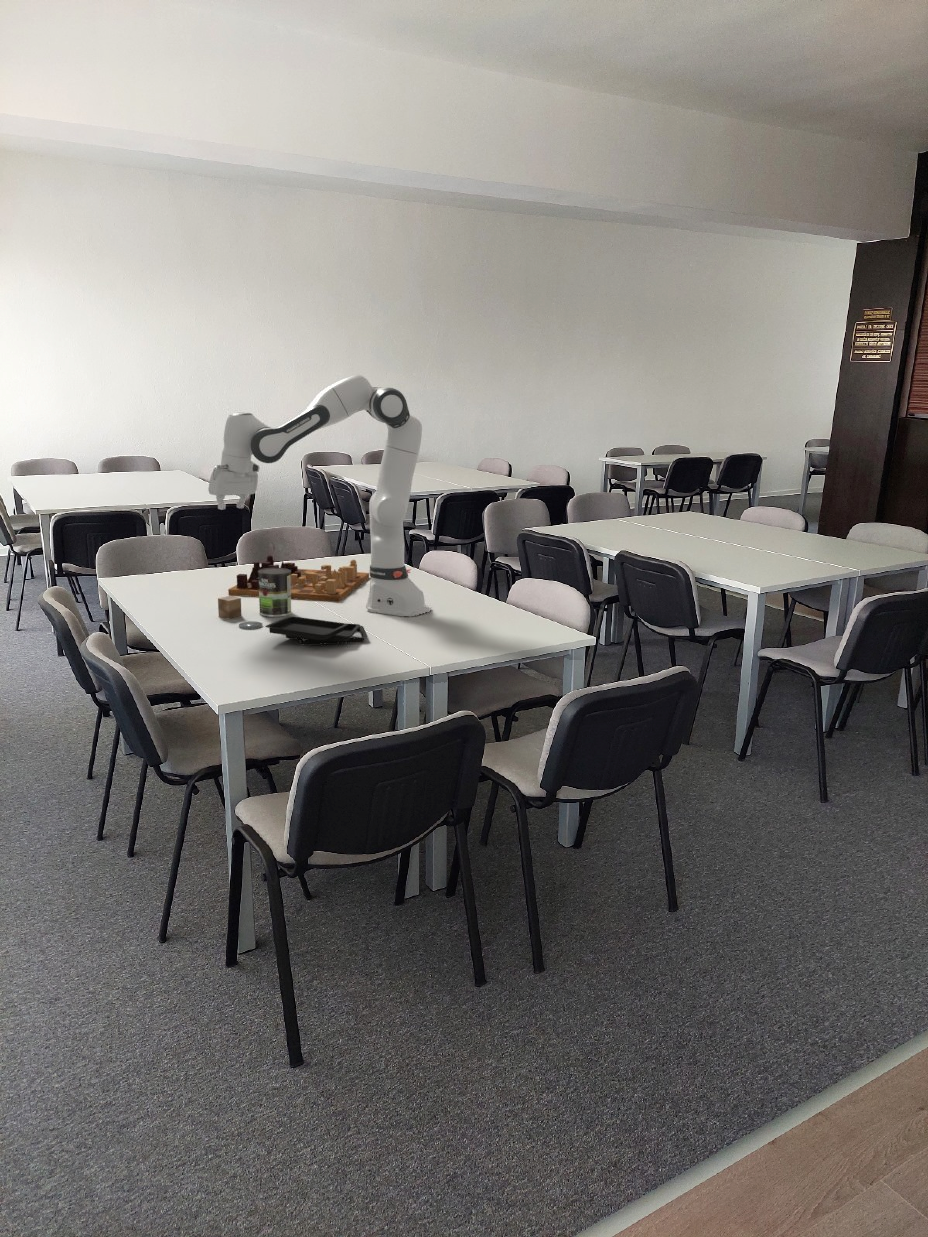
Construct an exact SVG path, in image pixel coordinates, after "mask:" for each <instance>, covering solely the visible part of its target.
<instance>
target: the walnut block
mask: <svg viewBox="0 0 928 1237" xmlns="http://www.w3.org/2000/svg"><path fill="white" fill-rule="evenodd" d="M217 605H218V606H217V609H218V611H217V612H218V617H219V618H223V619H226V620H232V619H236V618H239V617H242V616H243V615H242V598H241V597H238V596H235V595H227V596H223V597H219V598H217Z"/></svg>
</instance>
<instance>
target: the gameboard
mask: <svg viewBox="0 0 928 1237" xmlns="http://www.w3.org/2000/svg"><path fill="white" fill-rule="evenodd" d="M274 562H275V560H274V557H273V556H272V555H270V554H269V555H267V556H266V561H262V562H261V563H260V562H259V561H254V562H253V567H252V568H251V572H250V575H249V578H248V574H247V573H239V574H237V575H236V585H234V586H232V587H230V588H228V590H227V591H228V593H227V594H228V596H240V595H249V596H248V597H256V596H259V574H258V570H260V569H264V568H286V569H289V570H291V573H290V577H291V598H297V599H296V600H304V599H308V600H307V601H322V602H323V601H324V602H340V601H342V600H343V599H344V598H346V597H347V596H348V595H349V594H351V593H352V592H353V591H354V590H355V589H357V588H358V587H359V586H360V585H362V584H364V583H365V582H366V581H367V580H369V579H370V572H363V571H362V572H360V571H358V564H357V560H356V559H354V558H353V559H351V560H350V561H349V562H350V564H349V565H348V566H346V565H345V566H341V567H339V568H338V569H337V570H336V569H333V570H332V565H331V564H321V566H320V569H309V568H298V565H296V563H295V562H284V561H281V565H280V564H275V563H274ZM250 595H251V596H250Z"/></svg>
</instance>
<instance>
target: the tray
mask: <svg viewBox="0 0 928 1237" xmlns="http://www.w3.org/2000/svg"><path fill="white" fill-rule="evenodd" d="M265 628H268V629H269V630H268V632H269V633H270V634H274V635H275V634H277V635H282V636H285V638H286V639H293V640H297V641H299V644H300V645H303V646H310V645H311V646H313V645H316V646H317V645H334V644H339V645H340V644H356V643H358V644H361V643H364V642H365V639H366V638H368V637H369V636H368V634H367V631H366V629H365V627H364V626H363V625H361V624H360V623H347V622H346V623H345V622H337V621H330V620H324V619H323V620H322V619H315V618H307V617H300V616H290V615H288V616H285V617H283V618H282V619H279V620H276V621H274V622H271V623H269V624H266V625H265ZM357 632H359V633H360V635H361V637H353V636H354V635H355V633H357Z"/></svg>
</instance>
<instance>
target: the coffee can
mask: <svg viewBox="0 0 928 1237" xmlns="http://www.w3.org/2000/svg"><path fill="white" fill-rule="evenodd" d="M290 573H291V570H289V569H286V568H280V567H279V568H264V569H260V570H258V574H259V597H258V598H259V600H258V602H259V613H258V614H259V615H260V616H263V617H266V616H267V618H268V617H269V618H281V617H282V616H283V617H288V616H290V615H291V614H292V599H291V577H290Z"/></svg>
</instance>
